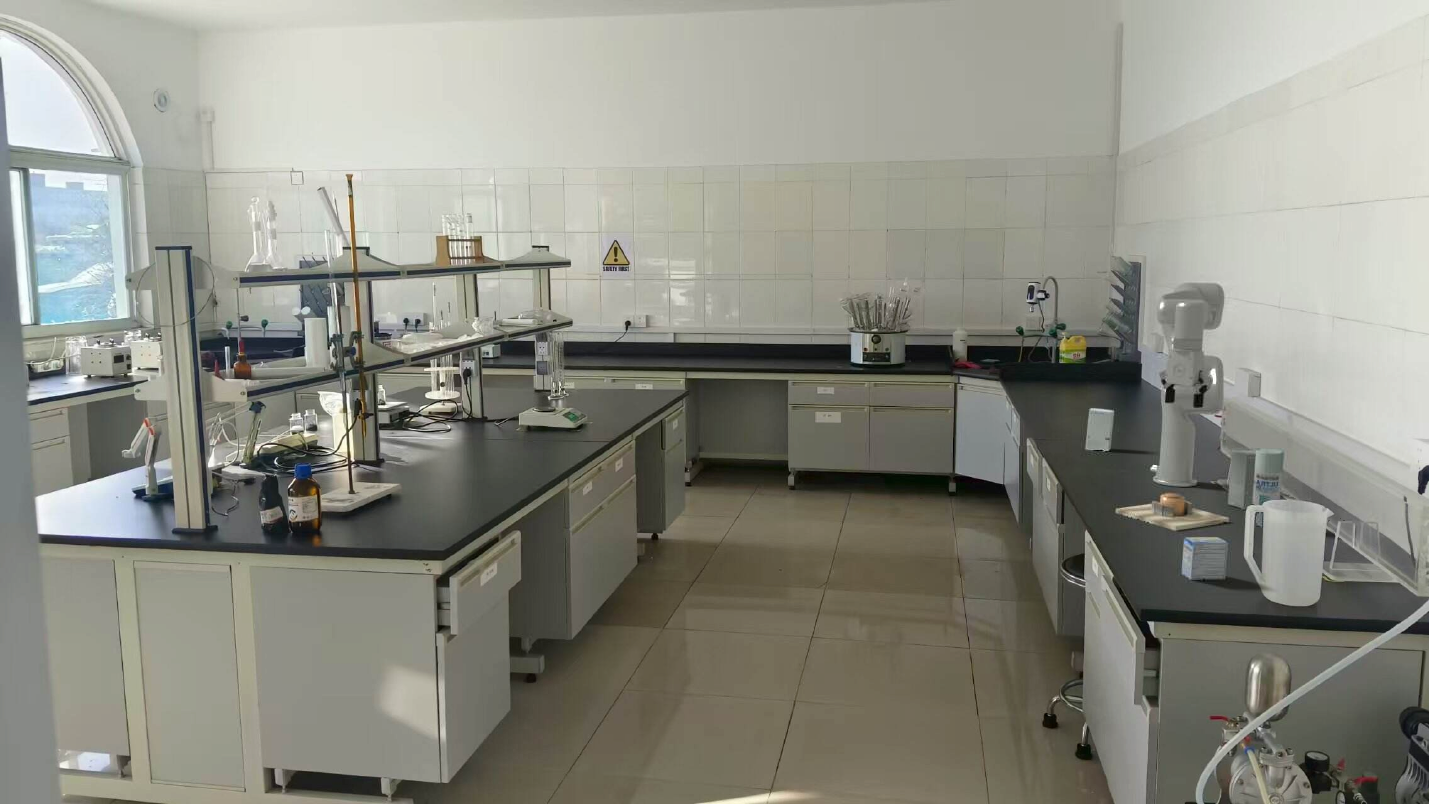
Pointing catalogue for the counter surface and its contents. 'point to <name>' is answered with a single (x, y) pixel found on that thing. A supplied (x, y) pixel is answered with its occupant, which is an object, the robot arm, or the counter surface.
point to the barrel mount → (1165, 518)
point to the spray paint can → (1267, 477)
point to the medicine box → (1204, 558)
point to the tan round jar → (1174, 502)
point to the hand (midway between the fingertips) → (1183, 405)
